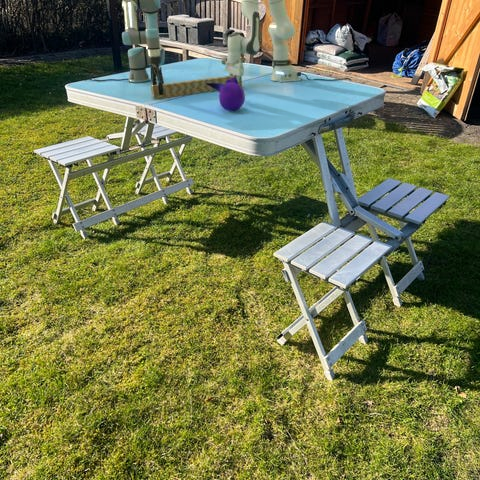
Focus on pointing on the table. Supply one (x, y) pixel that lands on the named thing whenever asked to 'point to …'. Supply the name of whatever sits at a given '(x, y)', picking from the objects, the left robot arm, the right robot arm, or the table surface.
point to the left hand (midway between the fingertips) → (158, 93)
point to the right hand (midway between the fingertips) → (235, 80)
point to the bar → (189, 87)
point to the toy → (230, 94)
